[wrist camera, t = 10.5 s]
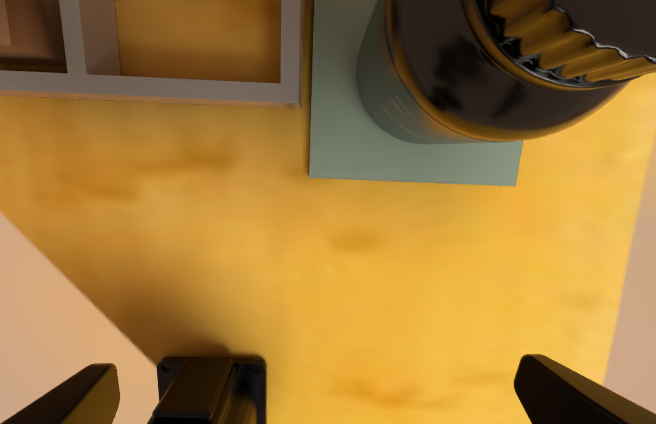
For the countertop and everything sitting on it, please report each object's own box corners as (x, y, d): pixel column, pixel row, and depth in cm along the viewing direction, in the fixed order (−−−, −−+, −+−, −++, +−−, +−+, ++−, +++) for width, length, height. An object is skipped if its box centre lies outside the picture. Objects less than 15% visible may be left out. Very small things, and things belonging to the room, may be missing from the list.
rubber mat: (509, 184, 18) (515, 186, 17) (309, 176, 18) (309, 177, 17) (546, -44, 15) (554, -52, 15) (316, -57, 15) (316, -65, 15)
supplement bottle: (513, 101, 16) (1003, -2, 5) (392, 167, 17) (547, 226, 5) (458, -35, 15) (948, -678, 3) (328, 42, 16) (344, -262, 4)
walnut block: (86, 68, 16) (11, 45, 12) (6, 64, 16) (-95, 40, 12) (76, -21, 16) (-7, -76, 12) (-9, -25, 15) (-121, -82, 12)
